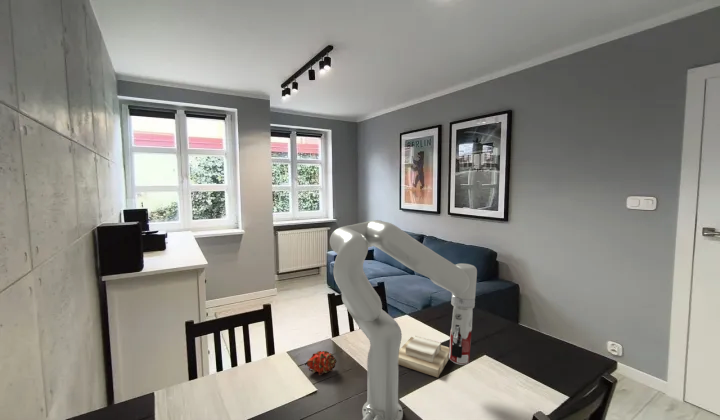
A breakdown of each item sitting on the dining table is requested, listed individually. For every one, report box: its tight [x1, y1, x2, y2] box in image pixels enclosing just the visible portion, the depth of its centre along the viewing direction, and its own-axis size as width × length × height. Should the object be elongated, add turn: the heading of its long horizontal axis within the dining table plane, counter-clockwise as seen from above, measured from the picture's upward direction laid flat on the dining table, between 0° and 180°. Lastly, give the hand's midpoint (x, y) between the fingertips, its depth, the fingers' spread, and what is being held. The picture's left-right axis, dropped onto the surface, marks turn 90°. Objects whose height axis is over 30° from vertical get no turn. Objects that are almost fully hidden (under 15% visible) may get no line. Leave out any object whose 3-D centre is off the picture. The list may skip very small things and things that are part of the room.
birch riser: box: [398, 335, 450, 378], centre depth 128 cm, size 18×18×6 cm
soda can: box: [449, 330, 472, 366], centre depth 107 cm, size 7×7×12 cm
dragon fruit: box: [304, 350, 337, 376], centre depth 119 cm, size 8×8×12 cm
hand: (459, 351), depth 107 cm, fingers closed on soda can, 6 cm apart
